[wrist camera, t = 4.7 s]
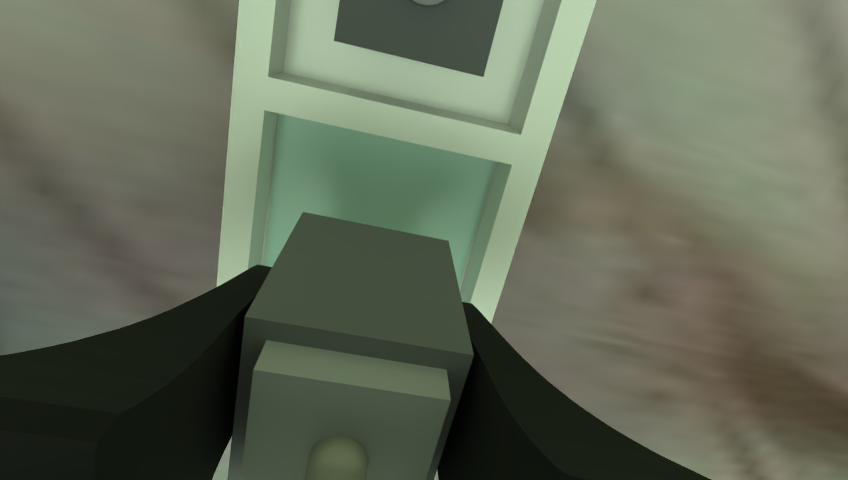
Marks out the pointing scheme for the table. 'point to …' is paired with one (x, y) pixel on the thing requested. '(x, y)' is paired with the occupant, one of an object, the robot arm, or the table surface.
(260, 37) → the pale green compartment tray
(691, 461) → the table surface
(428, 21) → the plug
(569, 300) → the table surface
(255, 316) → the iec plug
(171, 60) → the table surface
